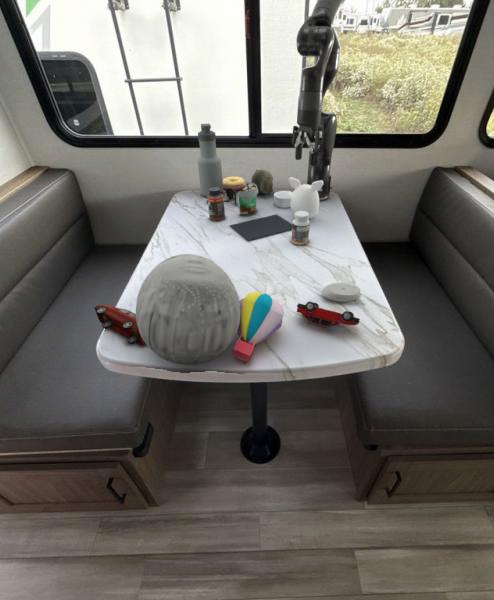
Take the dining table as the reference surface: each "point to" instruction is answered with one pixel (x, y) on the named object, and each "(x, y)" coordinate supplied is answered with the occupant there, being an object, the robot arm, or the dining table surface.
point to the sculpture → (187, 309)
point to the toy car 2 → (325, 315)
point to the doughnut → (233, 183)
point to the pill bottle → (300, 228)
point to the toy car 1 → (120, 322)
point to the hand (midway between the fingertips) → (305, 162)
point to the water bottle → (209, 161)
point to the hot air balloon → (256, 322)
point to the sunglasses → (229, 195)
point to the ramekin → (283, 199)
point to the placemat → (262, 227)
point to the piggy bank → (305, 197)
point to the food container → (248, 199)
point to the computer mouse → (341, 292)
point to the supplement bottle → (216, 204)
